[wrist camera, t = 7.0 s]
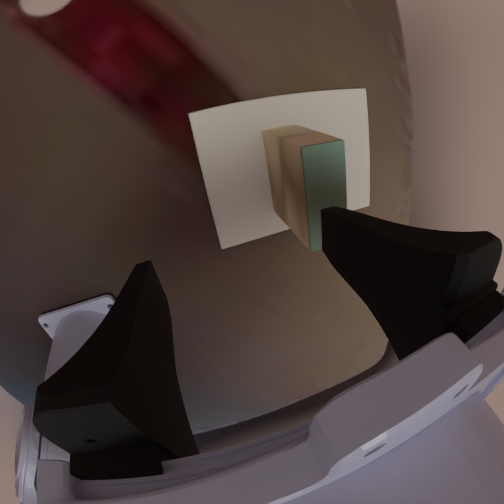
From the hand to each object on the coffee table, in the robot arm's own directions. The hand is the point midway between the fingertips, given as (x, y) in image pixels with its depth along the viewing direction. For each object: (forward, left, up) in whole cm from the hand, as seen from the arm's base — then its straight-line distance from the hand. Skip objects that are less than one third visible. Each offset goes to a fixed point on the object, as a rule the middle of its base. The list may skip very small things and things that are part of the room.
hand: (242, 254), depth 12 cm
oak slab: (0, -5, -9) cm, 10 cm away
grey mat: (0, -6, -9) cm, 11 cm away
